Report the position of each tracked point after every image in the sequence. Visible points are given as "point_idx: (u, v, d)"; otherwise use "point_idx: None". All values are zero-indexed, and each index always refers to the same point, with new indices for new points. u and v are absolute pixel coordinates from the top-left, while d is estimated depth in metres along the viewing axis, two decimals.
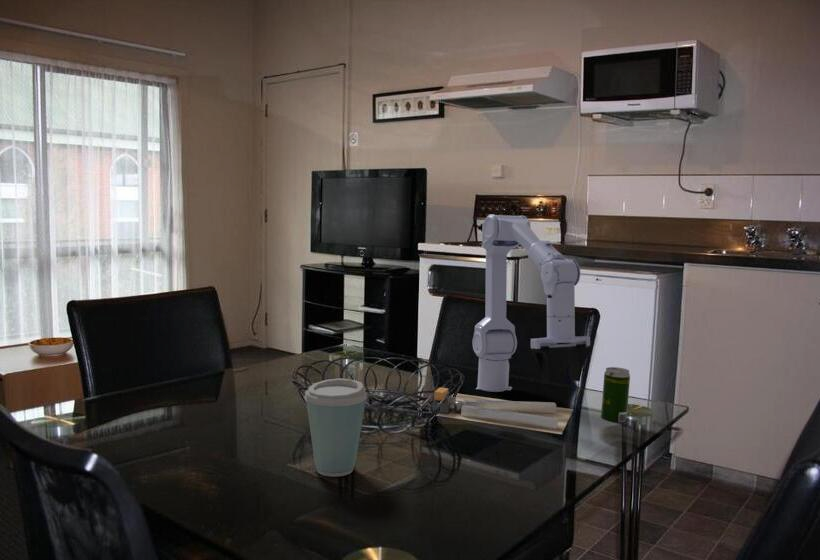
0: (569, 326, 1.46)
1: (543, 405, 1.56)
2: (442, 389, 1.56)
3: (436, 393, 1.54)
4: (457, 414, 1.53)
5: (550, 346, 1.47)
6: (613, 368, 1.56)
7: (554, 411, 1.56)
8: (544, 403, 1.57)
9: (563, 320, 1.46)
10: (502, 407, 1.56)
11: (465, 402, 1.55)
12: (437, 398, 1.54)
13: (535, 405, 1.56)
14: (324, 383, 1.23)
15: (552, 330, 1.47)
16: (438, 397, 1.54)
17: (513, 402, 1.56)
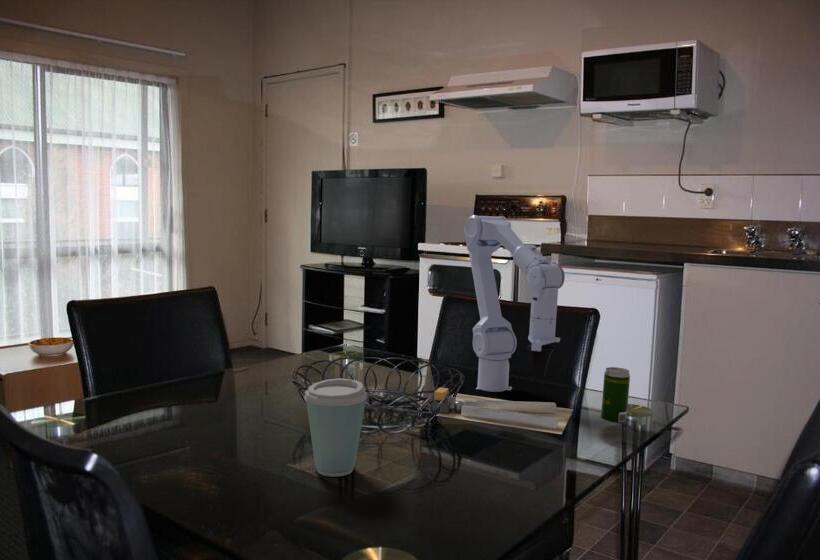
0: (555, 327, 1.58)
1: (543, 405, 1.56)
2: (442, 389, 1.56)
3: (436, 393, 1.54)
4: (457, 414, 1.53)
5: None
6: (613, 368, 1.56)
7: (554, 411, 1.56)
8: (544, 403, 1.57)
9: (552, 322, 1.57)
10: (502, 407, 1.56)
11: (465, 402, 1.55)
12: (437, 398, 1.54)
13: (535, 405, 1.56)
14: (324, 383, 1.23)
15: (543, 331, 1.57)
16: (438, 397, 1.54)
17: (513, 402, 1.56)
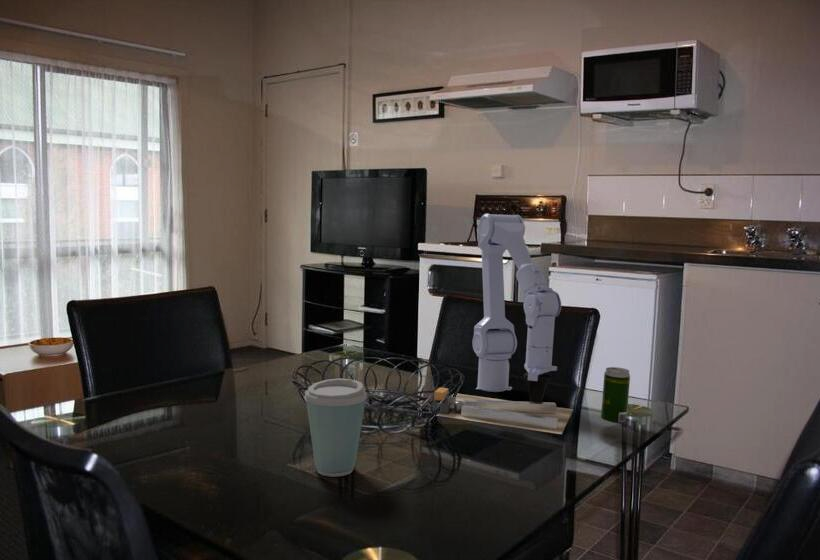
0: (551, 356, 1.57)
1: (543, 405, 1.56)
2: (442, 389, 1.56)
3: (436, 393, 1.54)
4: (457, 414, 1.53)
5: None
6: (613, 368, 1.56)
7: (554, 411, 1.56)
8: (544, 403, 1.57)
9: (549, 351, 1.55)
10: (502, 407, 1.56)
11: (465, 402, 1.55)
12: (437, 398, 1.54)
13: (535, 405, 1.56)
14: (324, 383, 1.23)
15: (539, 360, 1.55)
16: (438, 397, 1.54)
17: (513, 402, 1.56)
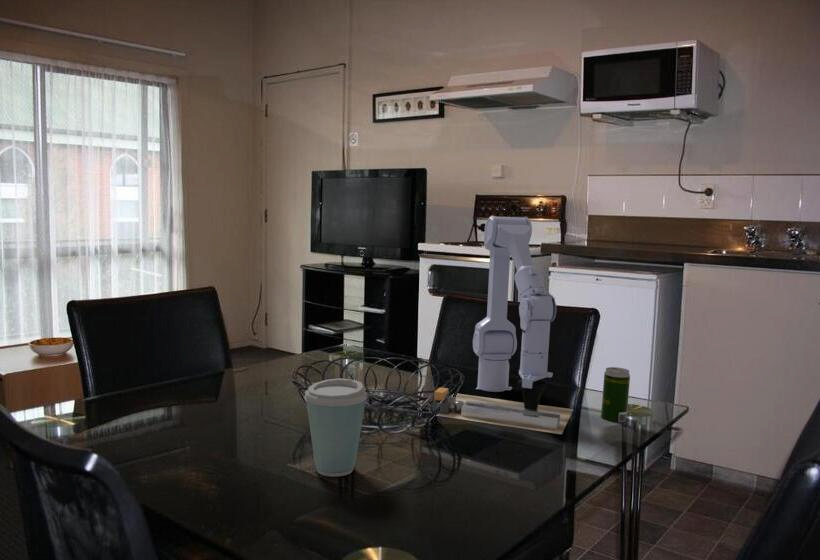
0: (547, 361, 1.51)
1: (546, 414, 1.49)
2: (442, 389, 1.56)
3: (436, 393, 1.54)
4: (457, 414, 1.53)
5: (531, 382, 1.49)
6: (613, 368, 1.56)
7: None
8: (548, 412, 1.50)
9: (544, 357, 1.49)
10: None
11: (466, 403, 1.55)
12: (437, 398, 1.54)
13: (537, 413, 1.50)
14: (324, 383, 1.23)
15: (534, 366, 1.49)
16: (438, 397, 1.54)
17: (515, 408, 1.52)
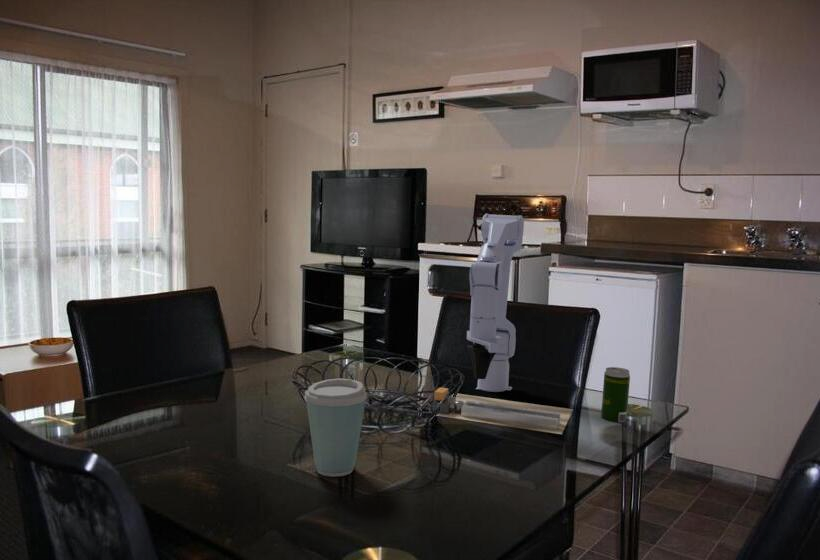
0: None
1: (546, 414, 1.49)
2: (442, 389, 1.56)
3: (436, 393, 1.54)
4: (457, 414, 1.53)
5: None
6: (613, 368, 1.56)
7: None
8: (548, 412, 1.50)
9: (496, 321, 1.54)
10: None
11: (466, 403, 1.55)
12: (437, 398, 1.54)
13: (537, 413, 1.50)
14: (324, 383, 1.23)
15: (490, 331, 1.52)
16: (438, 397, 1.54)
17: (515, 408, 1.52)
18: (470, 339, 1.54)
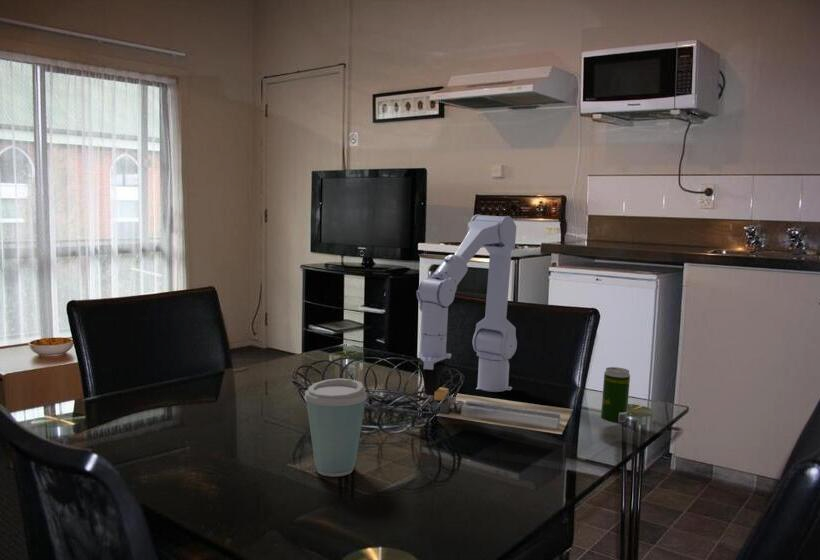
0: None
1: (546, 414, 1.49)
2: (442, 389, 1.56)
3: (436, 393, 1.54)
4: (457, 414, 1.53)
5: None
6: (613, 368, 1.56)
7: None
8: (548, 412, 1.50)
9: (443, 339, 1.53)
10: None
11: (466, 403, 1.55)
12: (437, 398, 1.54)
13: (537, 413, 1.50)
14: (324, 383, 1.23)
15: (434, 348, 1.52)
16: (438, 397, 1.54)
17: (515, 408, 1.52)
18: None
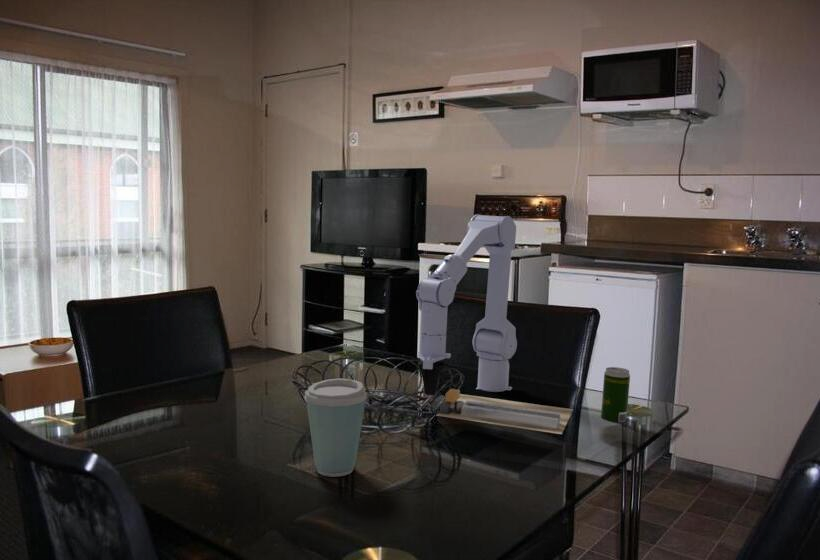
0: (445, 343, 1.55)
1: (546, 414, 1.49)
2: (453, 391, 1.55)
3: (447, 395, 1.53)
4: (457, 414, 1.53)
5: None
6: (613, 368, 1.56)
7: None
8: (548, 412, 1.50)
9: (443, 338, 1.53)
10: None
11: (466, 403, 1.55)
12: (448, 400, 1.53)
13: (537, 413, 1.50)
14: (324, 383, 1.23)
15: (433, 348, 1.52)
16: (449, 399, 1.53)
17: (515, 408, 1.52)
18: (418, 354, 1.55)
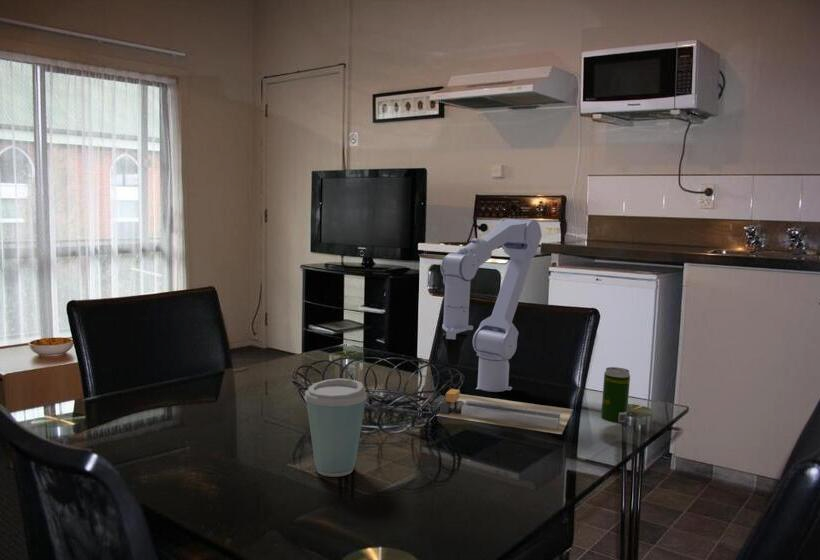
0: (468, 315, 1.62)
1: (546, 414, 1.49)
2: (453, 391, 1.55)
3: (447, 395, 1.53)
4: (457, 414, 1.53)
5: None
6: (613, 368, 1.56)
7: None
8: (548, 412, 1.50)
9: (466, 311, 1.60)
10: None
11: (466, 403, 1.55)
12: (448, 400, 1.53)
13: (537, 413, 1.50)
14: (324, 383, 1.23)
15: (456, 319, 1.60)
16: (449, 399, 1.53)
17: (515, 408, 1.52)
18: (442, 326, 1.63)
